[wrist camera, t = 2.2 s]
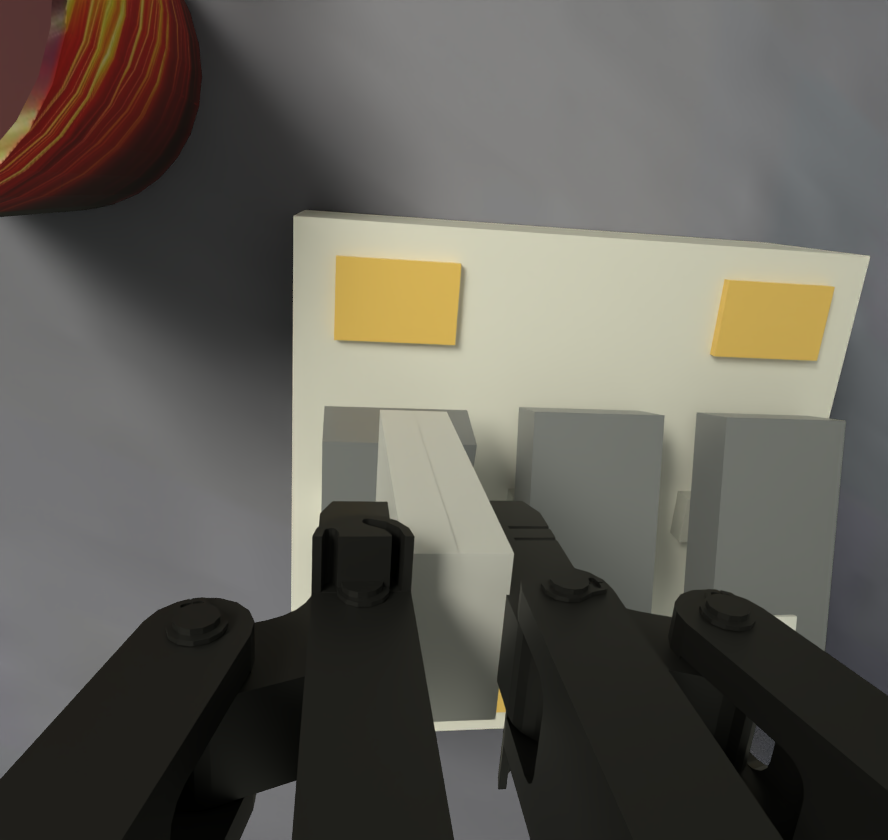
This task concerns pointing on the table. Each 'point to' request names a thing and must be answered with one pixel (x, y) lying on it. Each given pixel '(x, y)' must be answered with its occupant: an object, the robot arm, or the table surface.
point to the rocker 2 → (596, 490)
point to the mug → (92, 99)
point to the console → (555, 343)
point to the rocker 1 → (365, 450)
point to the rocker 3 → (767, 513)
